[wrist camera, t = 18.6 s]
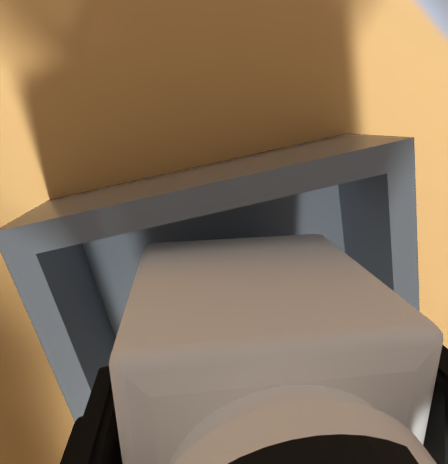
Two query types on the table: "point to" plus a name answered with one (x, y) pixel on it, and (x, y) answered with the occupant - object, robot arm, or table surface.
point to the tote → (205, 234)
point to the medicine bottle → (269, 358)
